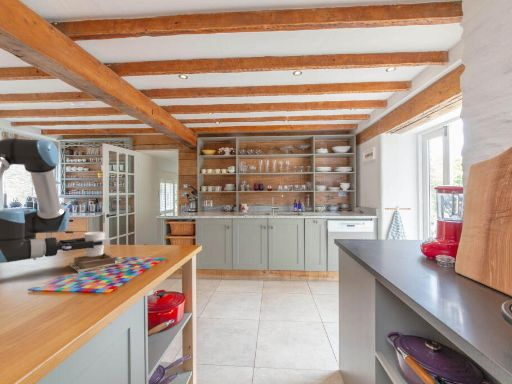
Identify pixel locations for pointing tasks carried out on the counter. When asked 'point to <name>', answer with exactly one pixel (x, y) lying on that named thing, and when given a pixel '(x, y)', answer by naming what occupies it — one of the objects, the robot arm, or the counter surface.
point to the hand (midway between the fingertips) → (106, 240)
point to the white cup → (97, 249)
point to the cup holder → (93, 262)
